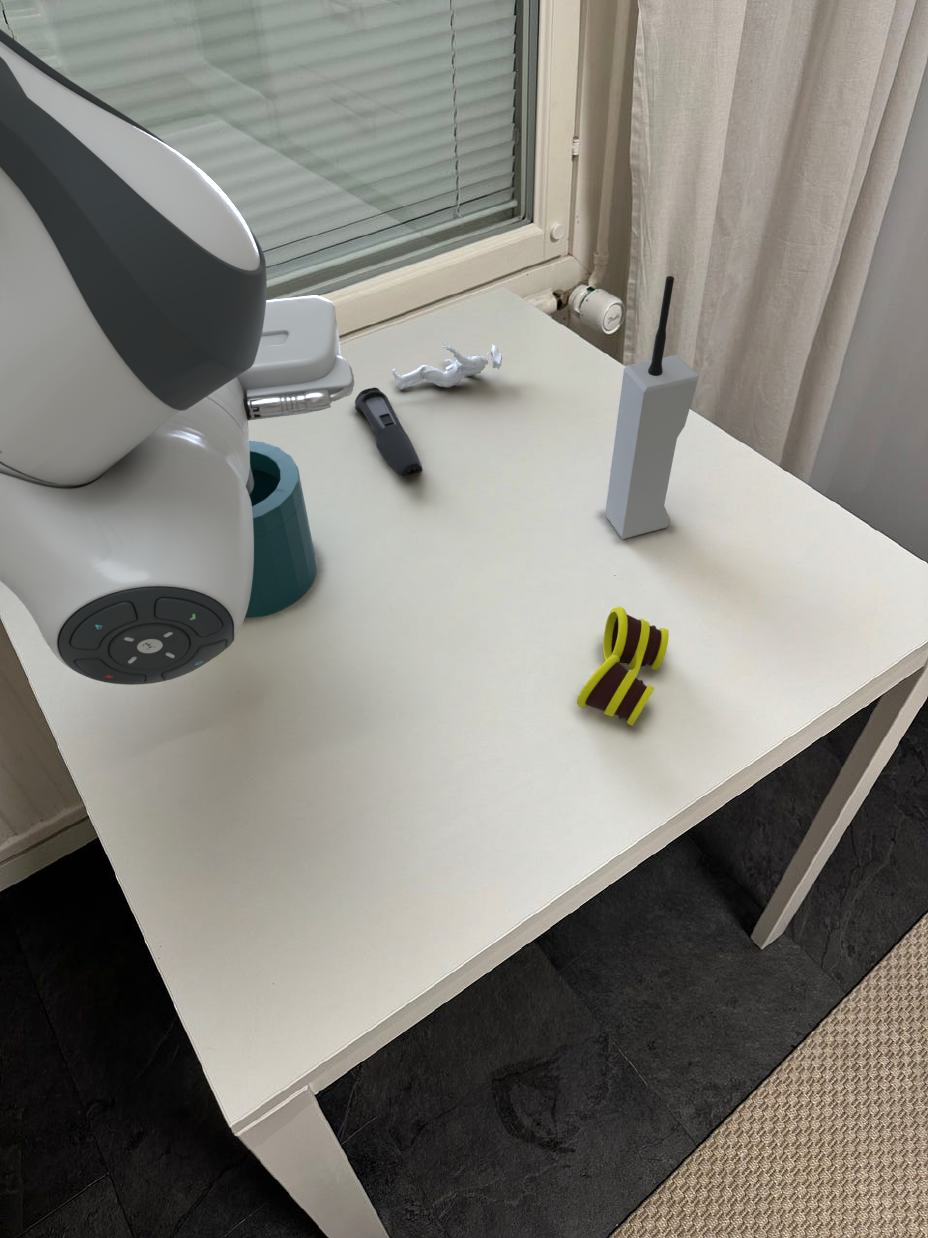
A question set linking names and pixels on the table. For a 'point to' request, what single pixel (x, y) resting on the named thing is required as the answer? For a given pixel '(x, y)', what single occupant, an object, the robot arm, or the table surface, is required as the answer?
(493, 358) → the soldier figure
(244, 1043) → the table surface
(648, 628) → the opera glasses
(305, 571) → the cup
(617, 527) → the vintage mobile phone
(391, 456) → the electric trimmer
